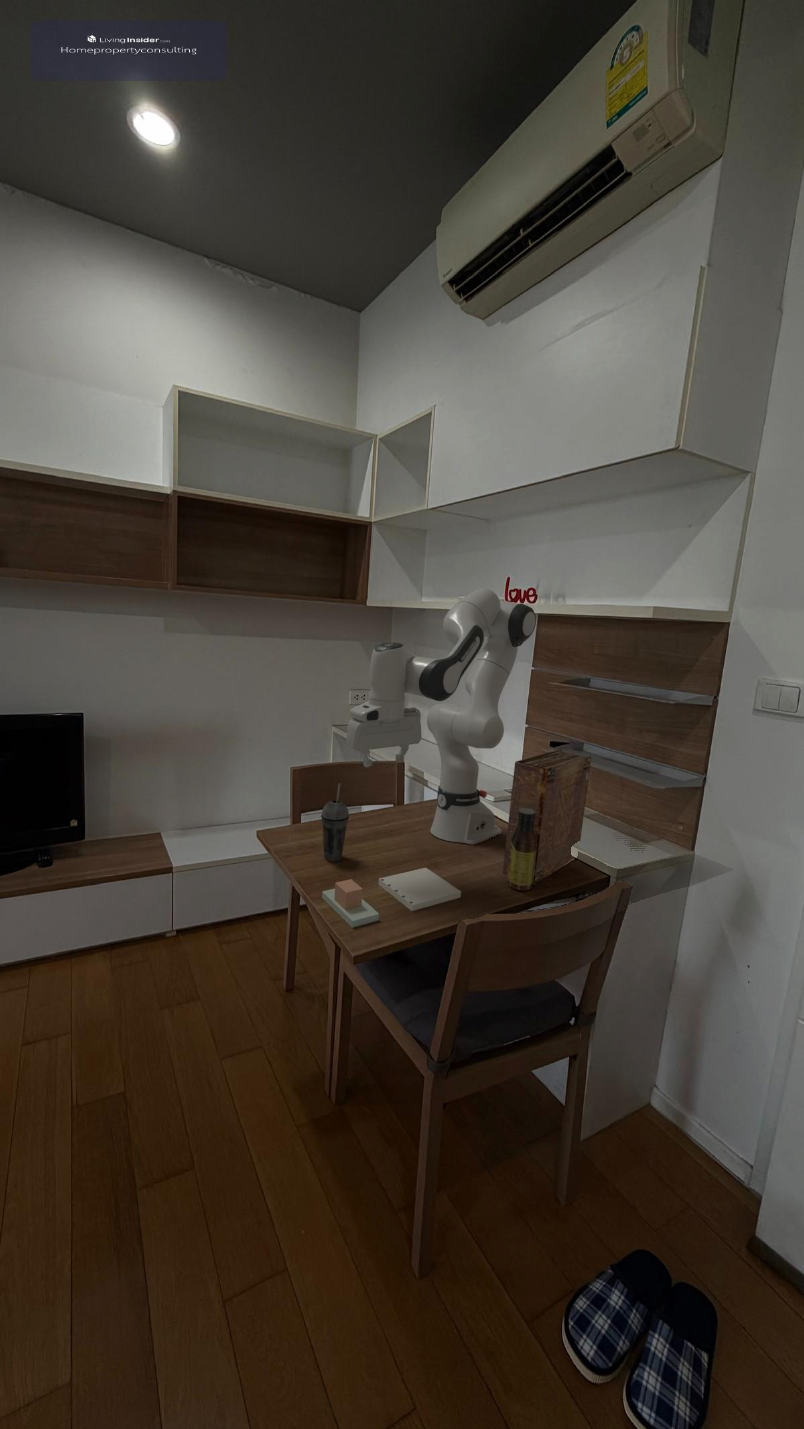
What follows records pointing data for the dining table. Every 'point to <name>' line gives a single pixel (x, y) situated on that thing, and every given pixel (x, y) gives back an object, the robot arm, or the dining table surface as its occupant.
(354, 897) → the green slab pink block
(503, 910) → the dining table surface
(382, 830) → the dining table surface
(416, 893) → the board
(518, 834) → the sauce bottle
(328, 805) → the beverage cup
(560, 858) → the book
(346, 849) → the dining table surface
